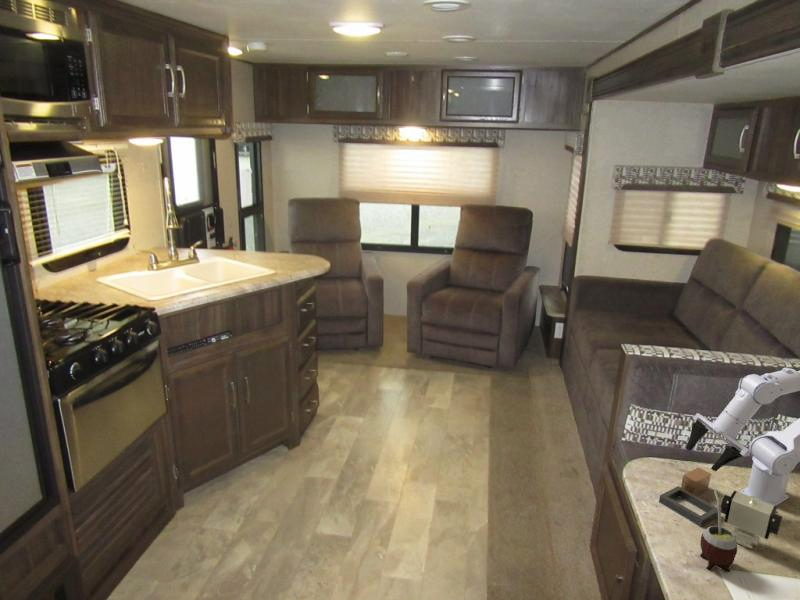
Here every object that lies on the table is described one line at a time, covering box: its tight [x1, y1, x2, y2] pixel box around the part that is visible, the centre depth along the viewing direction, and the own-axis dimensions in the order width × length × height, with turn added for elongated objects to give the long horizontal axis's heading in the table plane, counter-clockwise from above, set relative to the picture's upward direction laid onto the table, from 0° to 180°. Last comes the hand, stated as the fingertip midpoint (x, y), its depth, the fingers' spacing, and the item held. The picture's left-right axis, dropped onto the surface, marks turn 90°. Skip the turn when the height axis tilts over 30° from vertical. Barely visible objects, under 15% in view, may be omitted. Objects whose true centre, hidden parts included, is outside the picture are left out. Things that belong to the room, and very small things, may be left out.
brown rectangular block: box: [680, 467, 712, 497], centre depth 153 cm, size 7×4×5 cm, turn 122°
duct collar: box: [658, 486, 718, 528], centre depth 145 cm, size 8×11×2 cm
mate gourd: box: [699, 490, 738, 573], centre depth 125 cm, size 8×8×15 cm
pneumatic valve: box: [720, 490, 784, 550], centre depth 132 cm, size 6×12×12 cm, turn 48°
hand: (700, 459), depth 146 cm, fingers open, 7 cm apart
